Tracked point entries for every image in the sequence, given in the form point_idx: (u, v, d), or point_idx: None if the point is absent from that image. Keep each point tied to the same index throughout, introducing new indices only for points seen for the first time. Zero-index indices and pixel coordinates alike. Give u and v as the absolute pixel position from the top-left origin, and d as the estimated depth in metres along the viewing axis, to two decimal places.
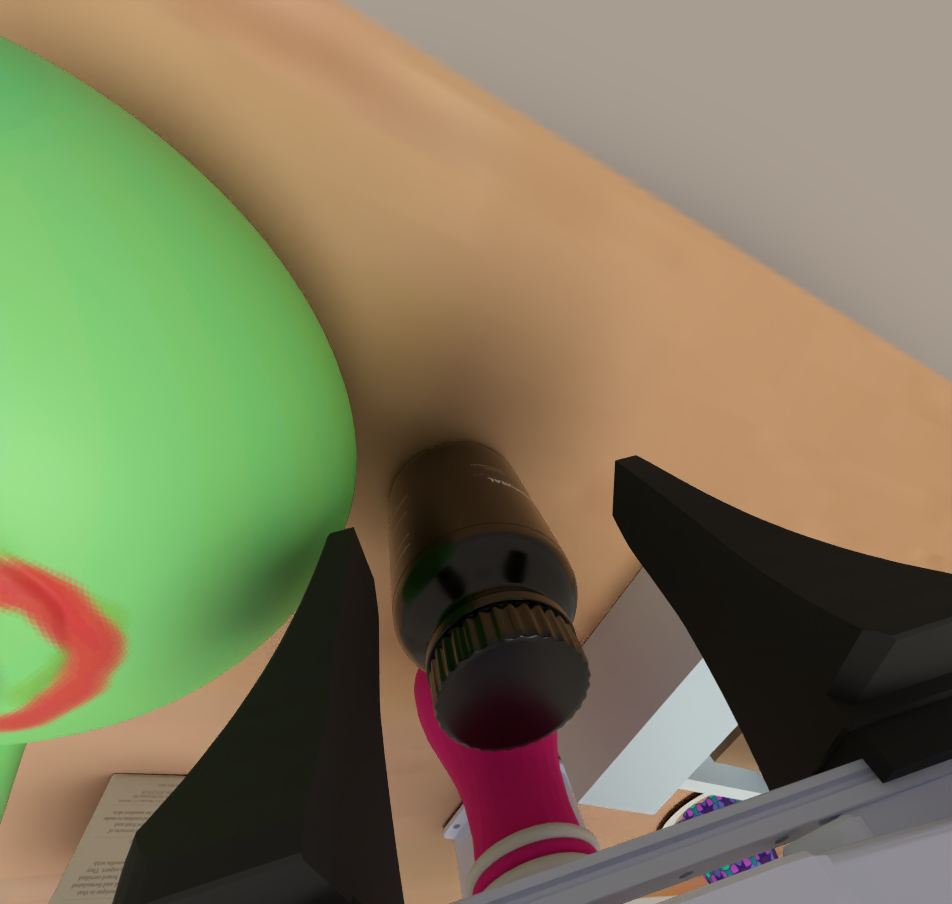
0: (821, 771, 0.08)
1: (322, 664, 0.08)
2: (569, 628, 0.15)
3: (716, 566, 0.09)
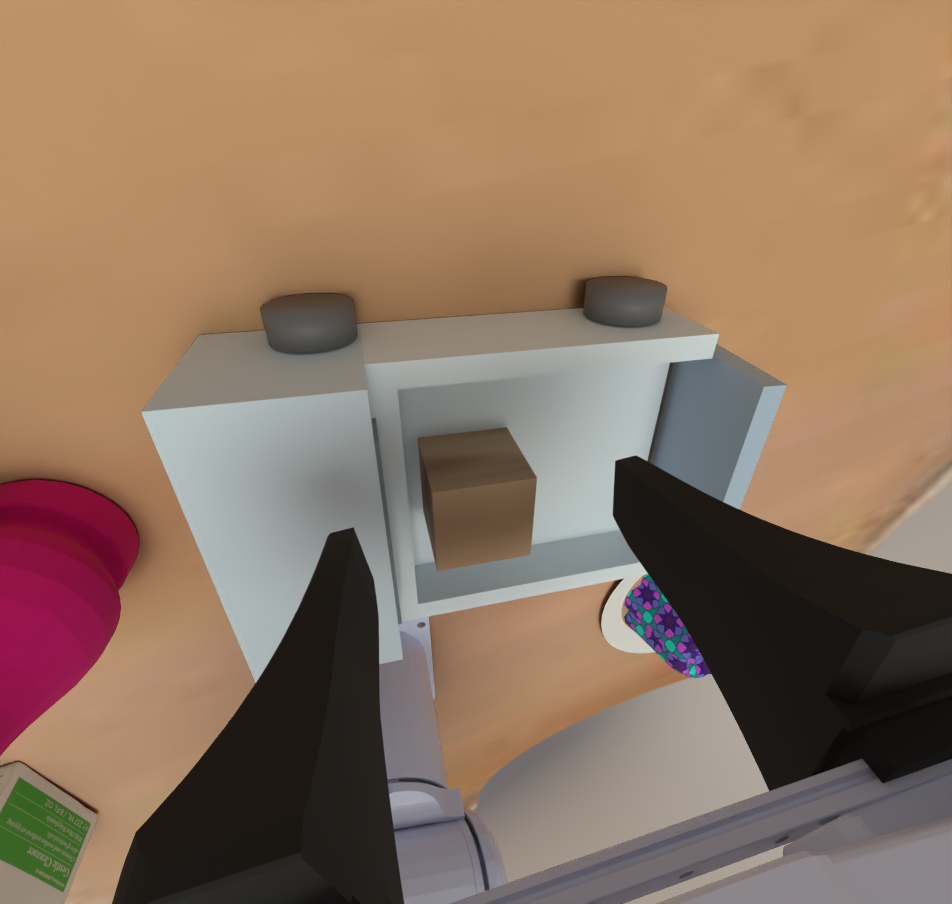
0: (821, 771, 0.08)
1: (323, 664, 0.08)
2: None
3: (716, 566, 0.09)
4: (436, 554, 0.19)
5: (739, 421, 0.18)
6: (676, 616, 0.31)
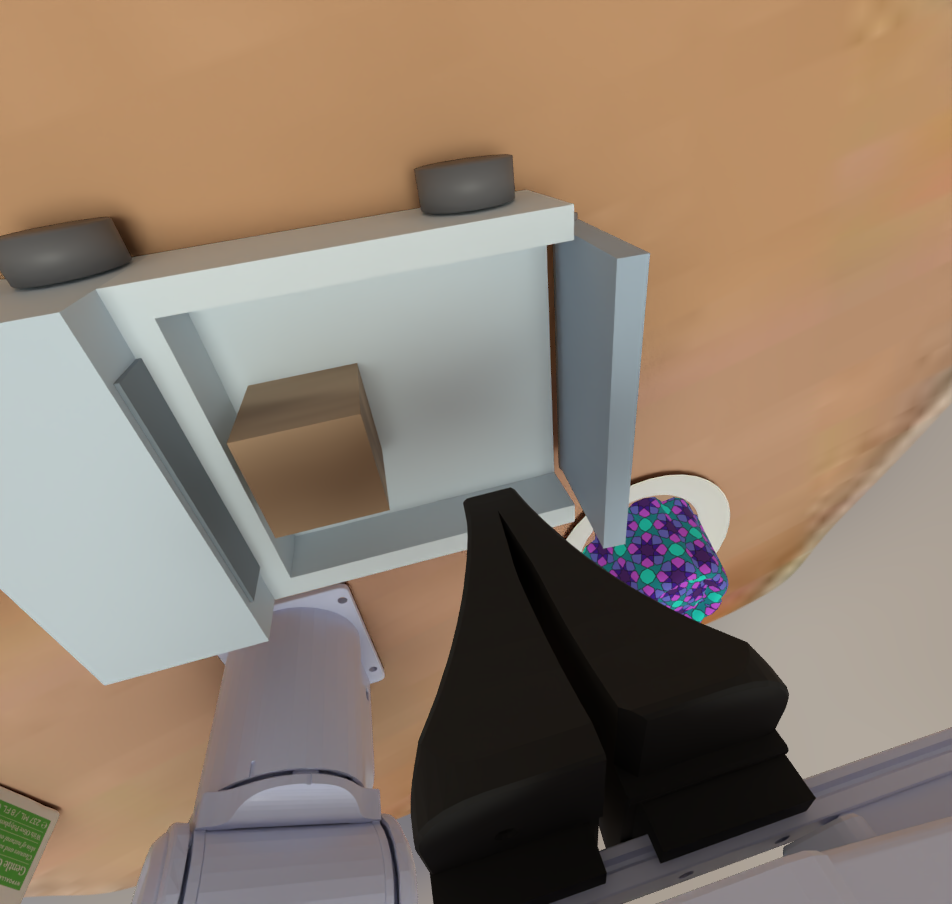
0: (630, 838, 0.08)
1: (519, 609, 0.09)
2: None
3: (549, 614, 0.09)
4: (267, 518, 0.16)
5: (606, 314, 0.14)
6: (630, 570, 0.27)
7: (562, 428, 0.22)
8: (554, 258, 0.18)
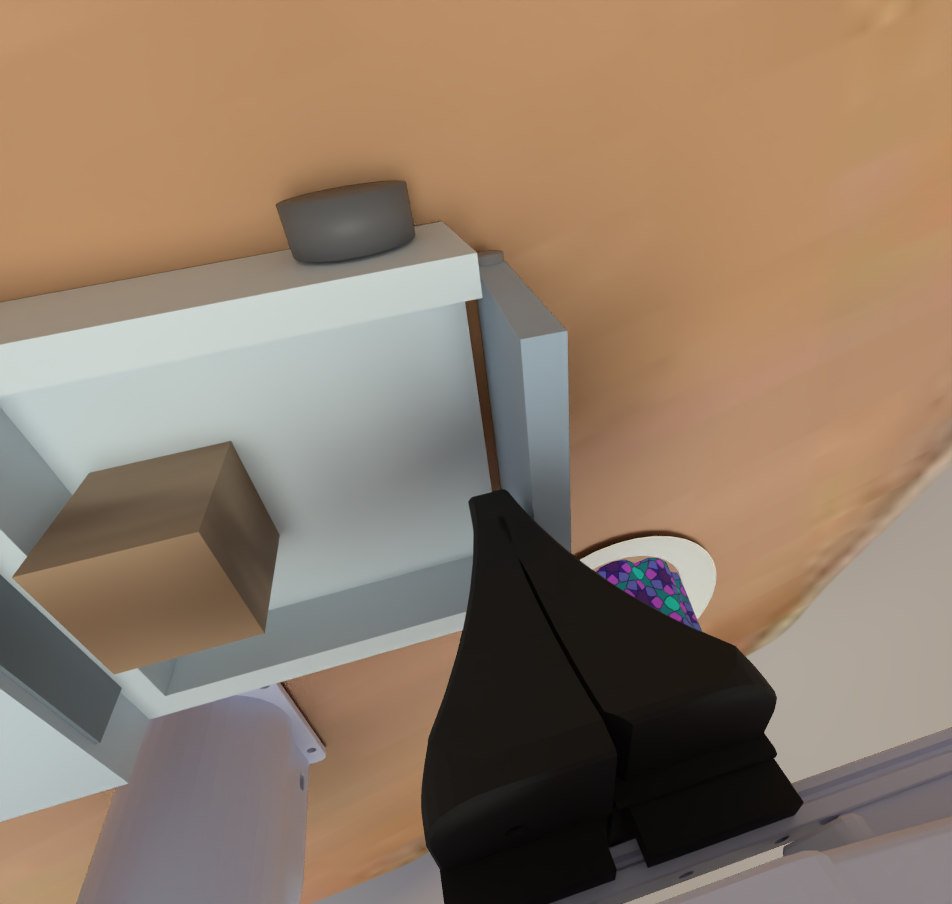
0: (619, 842, 0.08)
1: (526, 606, 0.09)
2: None
3: None
4: (96, 653, 0.12)
5: (519, 403, 0.10)
6: None
7: None
8: (478, 307, 0.14)
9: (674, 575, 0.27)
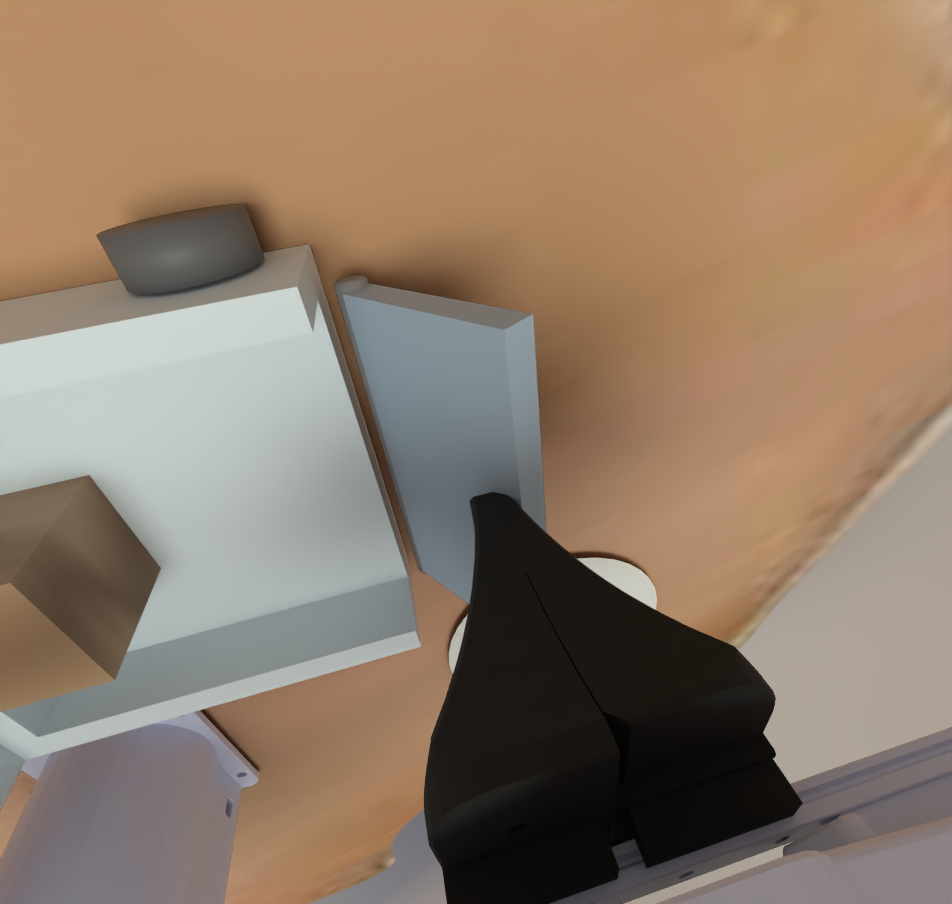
0: (618, 842, 0.08)
1: (528, 606, 0.09)
2: None
3: None
4: None
5: (491, 399, 0.10)
6: None
7: (418, 530, 0.17)
8: (353, 337, 0.13)
9: None
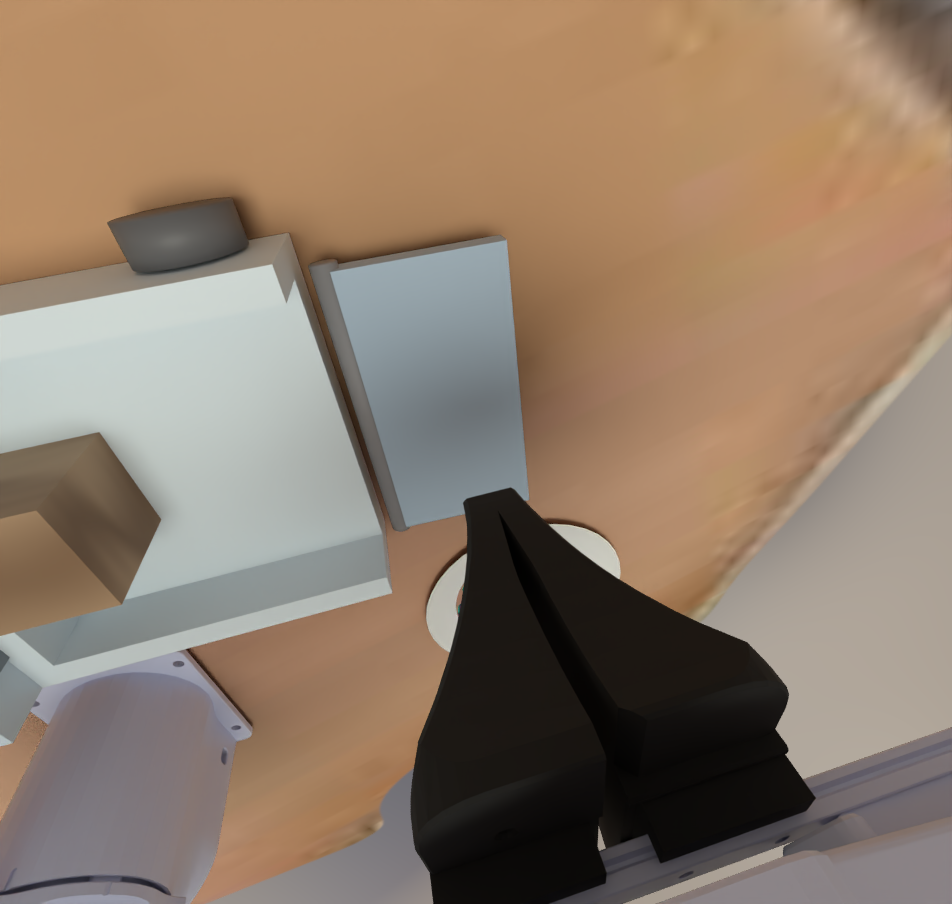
0: (630, 838, 0.08)
1: (519, 609, 0.09)
2: None
3: (549, 614, 0.09)
4: None
5: (495, 296, 0.16)
6: None
7: (405, 480, 0.20)
8: (338, 311, 0.15)
9: None
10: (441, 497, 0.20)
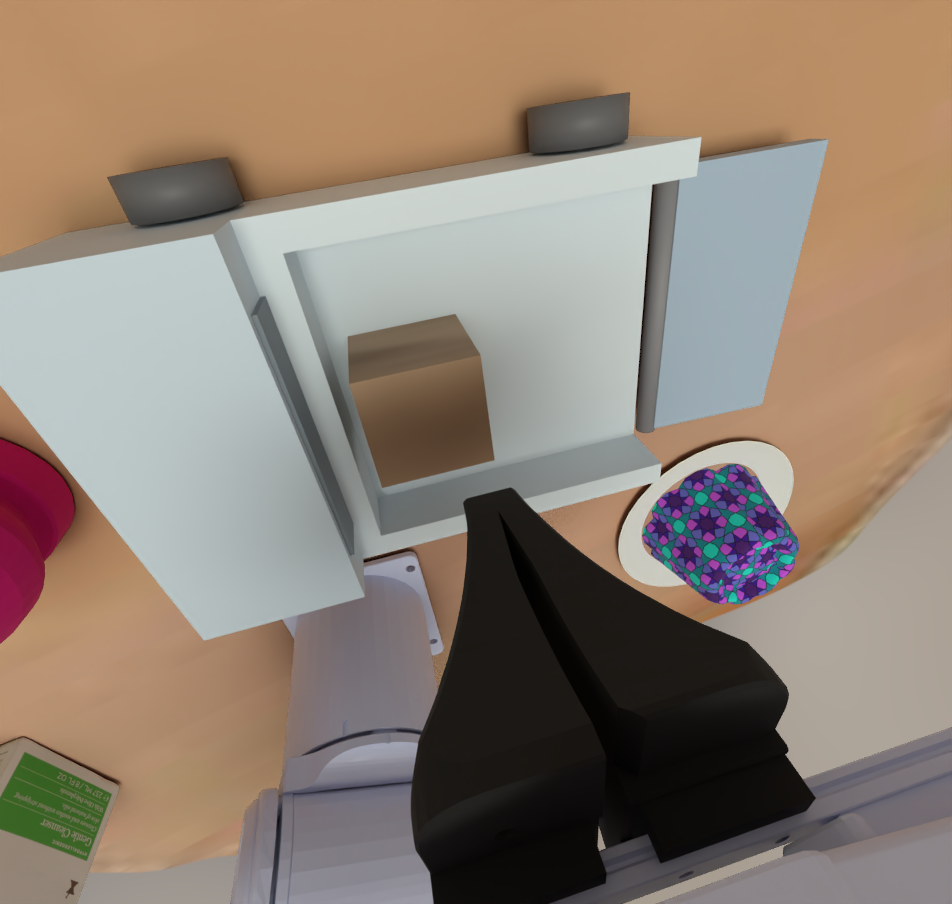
0: (630, 838, 0.08)
1: (519, 609, 0.09)
2: None
3: (549, 614, 0.09)
4: (376, 466, 0.16)
5: (801, 194, 0.18)
6: (692, 546, 0.27)
7: (669, 379, 0.22)
8: (674, 204, 0.17)
9: (753, 478, 0.30)
10: (692, 398, 0.22)
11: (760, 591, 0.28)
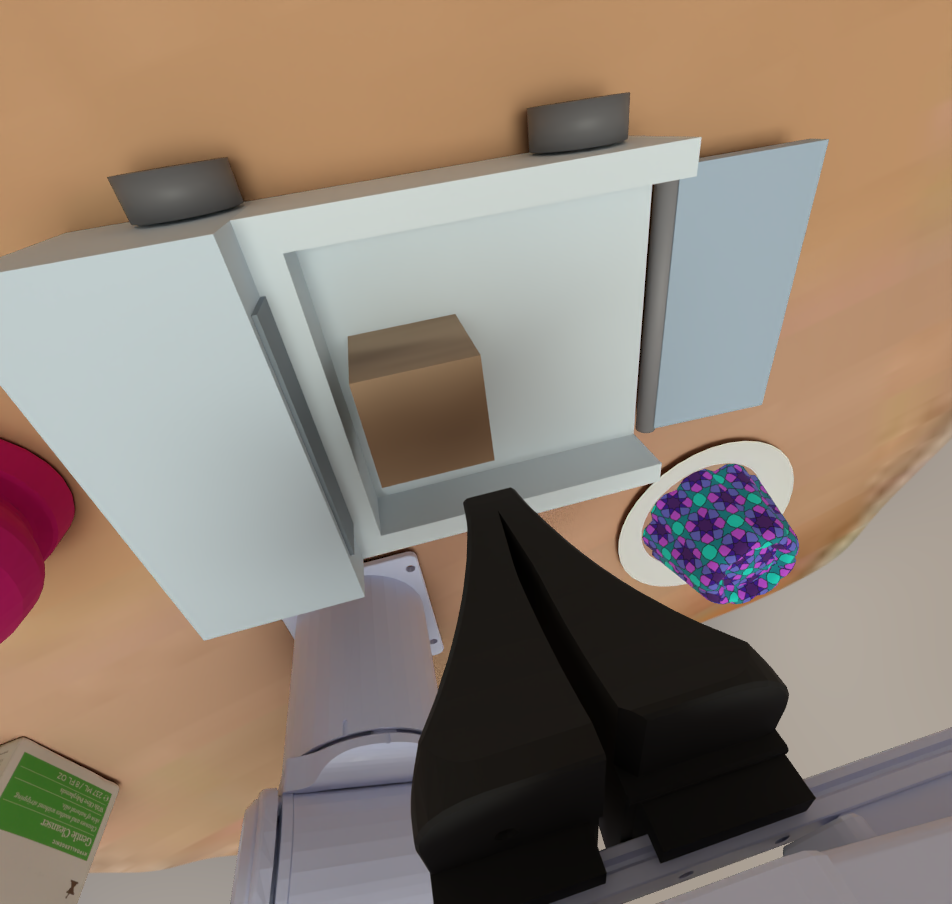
0: (630, 838, 0.08)
1: (519, 609, 0.09)
2: None
3: (549, 614, 0.09)
4: (376, 466, 0.16)
5: (801, 194, 0.18)
6: (691, 548, 0.27)
7: (669, 379, 0.22)
8: (674, 204, 0.17)
9: (753, 477, 0.29)
10: (692, 398, 0.22)
11: (761, 591, 0.28)
